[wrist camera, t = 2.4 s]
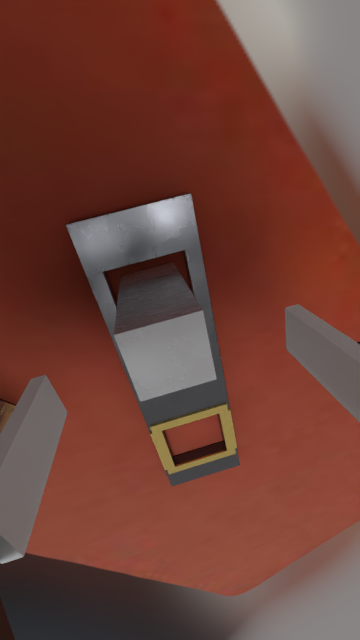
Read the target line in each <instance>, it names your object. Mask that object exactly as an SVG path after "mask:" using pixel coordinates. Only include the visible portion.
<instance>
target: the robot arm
mask: <svg viewBox="0 0 360 640" xmlns="http://www.w3.org/2000/svg"><path fill="white" fill-rule="evenodd" d="M285 324H286V349H287V350H288V351H289V352H290V353H291V354H292V355H293V356H294V357H295V358H296V359H297V360H298V361H299V362H300V363H301V364H302V365H303V366H304V367H305V368H306V369H307V370H308V371H309V372H310V373H311V374H312V375H313V376H314V377H315V378H316V379H317V380H318V381H319V382H320V383H321V384H322V385H323V386H324V387H325V388H326V389H327V390H328V391H329V392H330V393H331V394H332V395H333V396H334V397H335V398H336V399H337V400H338V401H339V402H340V403H341V404H342V405H343V406H344V407H345V408H346V409H347V410H348V411H349V412H350V413H351V414H352V415H353V416H354V417H355V418H356V419H357V420H358V421H359V422H360V342H355V341H354V340H352V339H351V338H349V337H347V336H346V335H344V334H343V333H341V332H340V331H338V330H337V329H335V328H334V327H332V326H331V325H329V324H328V323H326V322H325V321H323V320H322V319H320V318H318V317H317V316H315V315H314V314H312V313H311V312H309V311H308V310H306V309H305V308H303V307H302V306H300V305H299V304H297V305H293V306H290V307H286V308H285ZM66 416H67V411H66V409H65V407H64V405H63V404H62V402H61V400H60V398H59V397H58V395H57V393H56V392H55V390H54V388H53V386H52V385H51V383H50V381H49V380H48V378H47V376H46V375H43V376H39V377H36V378H32V379H31V380H30V382H29V383H28V385H27V387H26V389H25V390H24V392H23V394H22V396H21V398H20V399H19V401H18V403H17V405H16V407H15V408H14V410H13V412H12V414H11V416H10V417H9V419H8V421H7V423H6V425H5V426H4V428H3V430H2V432H1V434H0V563H1V564H2V563H6V562H9V561H12V560H15V559H18V558H21V557H24V554H25V551H26V548H27V545H28V541H29V538H30V535H31V531H32V528H33V525H34V521H35V518H36V515H37V512H38V508H39V505H40V502H41V498H42V495H43V492H44V488H45V485H46V482H47V479H48V475H49V472H50V469H51V465H52V462H53V459H54V455H55V452H56V449H57V445H58V442H59V439H60V436H61V432H62V429H63V426H64V422H65V419H66ZM0 640H15V639H14V636H13V633H12V630H11V627H10V624H9V622H8V619H7V616H6V613H5V610H4V607H3V604H2V602H1V599H0Z"/></svg>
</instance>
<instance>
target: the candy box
mask: <svg viewBox="0 0 360 640" xmlns="http://www.w3.org/2000/svg"><path fill="white" fill-rule="evenodd" d="M15 407H16V406H15V405H12V404H9V403H6V402H3V401H0V434H1V432H2V430H3V428H4V426H5V425H6V423H7V421H8V419H9V417H10V416H11V414H12V412H13V410H14V408H15Z"/></svg>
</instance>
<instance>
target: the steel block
mask: <svg viewBox="0 0 360 640" xmlns="http://www.w3.org/2000/svg"><path fill="white" fill-rule="evenodd" d="M114 337H115V340H116V342H117V345H118V347H119V350H120V352H121V355H122V357H123V360H124V362H125V365H126V367H127V370H128V372H129V375H130V377H131V380H132V382H133V385H134V387H135V390H136V392H137V395H138V397H139V400H140V402H141V401H145V400H148V399H152V398H155V397H158V396H162V395H165V394H169V393H172V392H175V391H179V390H182V389H185V388H189V387H192V386H196V385H199V384H202V383H206V382H209V381H213V380H216V379H217V378H216V373H215V368H214V363H213V358H212V353H211V348H210V343H209V338H208V333H207V328H206V323H205V318H204V313H203V310H202V308H201V306H200V305H199V303H198V301H197V300H196V298H195V297H194V295H193V293H192V292H191V290H190V289H189V287H188V285H187V284H186V282H185V280H184V279H183V277H182V276H181V274H180V272H179V271H178V269H177V268H176V266H175V264H174V263H173V262H171V263H167V264H163V265H160V266H156V267H152V268H148V269H145V270H141V271H137V272H133V273H130V274H126V275H122V276H120V283H119V292H118V301H117V310H116V319H115V328H114Z"/></svg>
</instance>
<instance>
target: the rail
mask: <svg viewBox="0 0 360 640" xmlns="http://www.w3.org/2000/svg"><path fill="white" fill-rule="evenodd" d="M66 227H67V229H68V232H69V234H70V237H71V239H72V241H73V244H74V246H75V249H76V251H77V254H78V256H79V259H80V261H81V264H82V266H83V269H84V271H85V273H86V276H87V278H88V281H89V283H90V286H91V288H92V291H93V293H94V296H95V298H96V301H97V303H98V305H99V308H100V310H101V313H102V315H103V318H104V320H105V323H106V325H107V328H108V330H109V333H110V335H111V337H112V340H113V342H114V345H115V347H116V350H117V352H118V355H119V357H120V360H121V362H122V365H123V367H124V370H125V372H126V374H127V377H128V379H129V382H130V384H131V387H132V389H133V392H134V394H135V397H136V399H137V402H138V404H139V406H140V409H141V411H142V414H143V416H144V419H145V421H146V424H147V426H148V429H149V431H150V435H151V437H152V440H153V442H154V445H155V447H156V449H157V452H158V454H159V457H160V459H161V462H162V464H163V467H164V469H165V470H166V473H167V475H168V478H169V480H170V483H171V485H172V486H175V485H178V484H181V483H184V482H187V481H190V480H194V479H197V478H200V477H203V476H206V475H210V474H213V473H216V472H219V471H222V470H225V469H229V468H232V467H235V466H238V465H240V463H239V458H238V452H237V445H236V439H235V434H234V428H233V422H232V417H231V411H230V408H229V402H228V397H227V391H226V385H225V380H224V374H223V369H222V363H221V358H220V352H219V347H218V341H217V335H216V330H215V324H214V319H213V313H212V308H211V302H210V296H209V291H208V285H207V280H206V274H205V269H204V263H203V257H202V252H201V246H200V241H199V235H198V230H197V224H196V219H195V213H194V207H193V202H192V196H191V193H187V194H183V195H179V196H175V197H171V198H167V199H163V200H159V201H155V202H151V203H147V204H144V205H140V206H136V207H132V208H128V209H124V210H120V211H116V212H112V213H108V214H104V215H100V216H96V217H92V218H88V219H84V220H80V221H76V222H72V223H69V224H67V225H66ZM179 251H183V253H184V258H185V263H186V267H187V272H188V277H189V282H190V286H191V291H192V293H193V295H194V297H195V298H196V300H197V301H198V303H199V305H200V306H201V308H202V310H203V313H204V318H205V323H206V328H207V333H208V338H209V343H210V348H211V353H212V358H213V363H214V368H215V373H216V378H217V379H216V380H213V381H209V382H206V383H202V384H199V385H196V386H192V387H189V388H185V389H182V390H179V391H175V392H172V393H169V394H165V395H162V396H158V397H155V398H152V399H148V400H145V401H141V402H140V400H139V397H138V395H137V392H136V390H135V387H134V385H133V382H132V380H131V377H130V375H129V372H128V370H127V367H126V365H125V362H124V360H123V357H122V355H121V352H120V350H119V347H118V345H117V342H116V340H115V337H114V328H115V319H116V310H117V302H116V299H115V296H114V293H113V291H112V288H111V285H110V283H109V280H108V277H107V274H106V272H105V271H108V270H111V269H115V268H119V267H123V266H126V265H130V264H134V263H138V262H141V261H145V260H149V259H153V258H157V257H160V256H164V255H168V254H172V253H175V252H179ZM216 414H218V418H219V422H220V427H221V432H222V437H223V441H222V442H219V443H215V444H212V445H209V446H206V447H202V448H199V449H196V450H193V451H189V452H186V453H183V454H180V455H177V456H173V454H172V451H171V449H170V446H169V443H168V441H167V438H166V435H165V432H164V430H166V429H169V428H173V427H176V426H179V425H183V424H186V423H189V422H192V421H196V420H199V419H202V418H206V417H209V416H212V415H216Z"/></svg>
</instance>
